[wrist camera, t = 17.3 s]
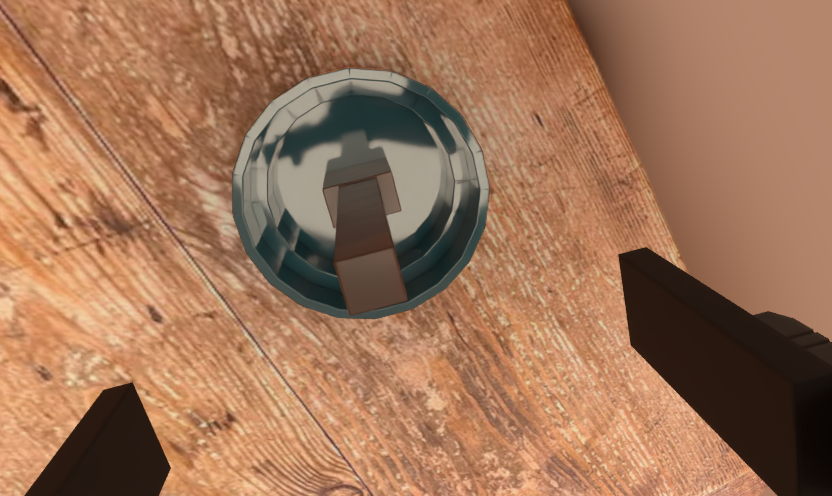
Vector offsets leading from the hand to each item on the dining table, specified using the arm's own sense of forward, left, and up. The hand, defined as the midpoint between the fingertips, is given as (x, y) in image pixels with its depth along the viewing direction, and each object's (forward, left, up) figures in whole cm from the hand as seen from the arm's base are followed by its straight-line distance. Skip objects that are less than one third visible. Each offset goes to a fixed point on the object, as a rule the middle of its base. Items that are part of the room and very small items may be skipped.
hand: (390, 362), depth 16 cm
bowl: (0, 0, -25) cm, 25 cm away
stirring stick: (0, 0, -24) cm, 24 cm away
